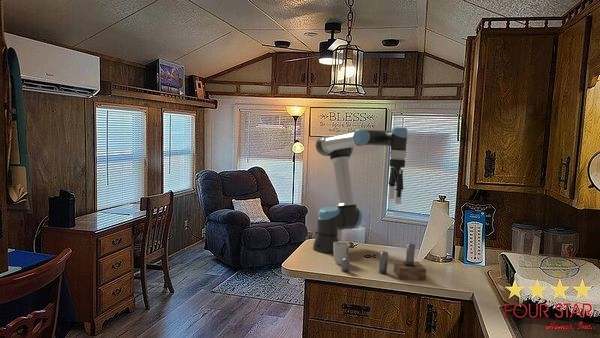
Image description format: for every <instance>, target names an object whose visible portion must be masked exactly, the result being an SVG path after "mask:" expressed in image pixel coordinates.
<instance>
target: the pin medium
mask: <svg viewBox="0 0 600 338" xmlns="http://www.w3.org/2000/svg"><path fill="white" fill-rule="evenodd" d="M379 253H380V254H379V255H380V256H379V267H378V269H379V270H378V272H379V273H378V274H381V275H387V273H388V272H387V271H388V262H389V261H388V260H389V252H388V251H380V252H379Z"/></svg>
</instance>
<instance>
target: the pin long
mask: <svg viewBox="0 0 600 338" xmlns="http://www.w3.org/2000/svg"><path fill="white" fill-rule="evenodd" d="M415 252H416V244H415V243H410V242H408V243H407V244H406V258H405V259H406V260H405V261H406V266H408V267H414V262H415V254H416V253H415Z"/></svg>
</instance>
